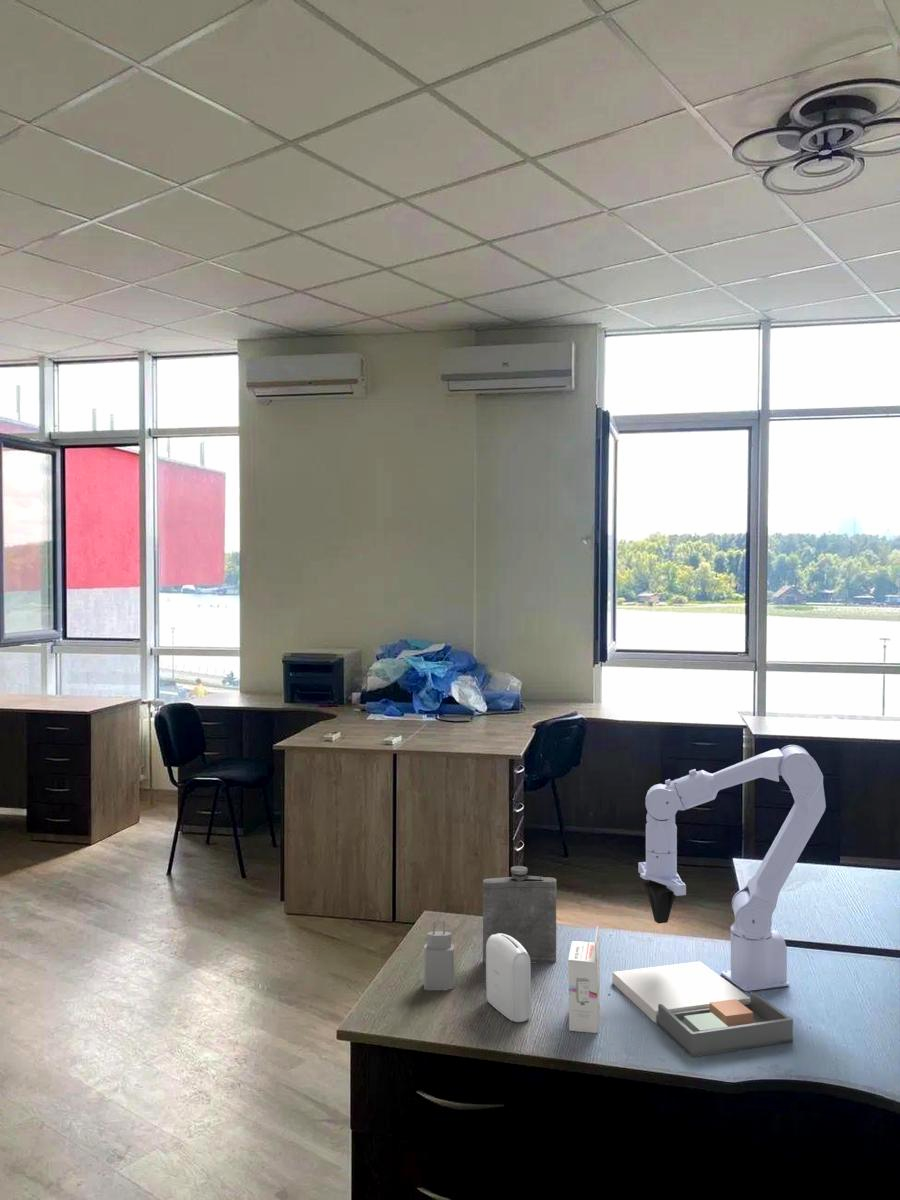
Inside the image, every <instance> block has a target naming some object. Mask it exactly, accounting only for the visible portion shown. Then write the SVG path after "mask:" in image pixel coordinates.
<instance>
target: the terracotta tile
mask: <svg viewBox="0 0 900 1200" xmlns="http://www.w3.org/2000/svg"><path fill="white" fill-rule="evenodd" d="M709 1013H713V1014H714V1015H715V1016H716V1017H717V1018H719V1019H720V1020H721V1021H722V1022H723V1023H725V1024H726V1025H727V1026H728V1027H731V1026H738V1025H745V1024H752V1023H753V1012H752V1011H751V1010H749V1009H748V1008H747V1007H745V1006H744V1005H743V1004H742V1003H740V1002H739V1001H738V1000H737V999H733V1000H725V1001H717V1002H710V1004H709Z"/></svg>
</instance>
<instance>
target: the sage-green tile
mask: <svg viewBox="0 0 900 1200" xmlns="http://www.w3.org/2000/svg"><path fill="white" fill-rule="evenodd" d="M684 1024H685V1025H686V1026H687V1027H688V1028H689V1029H690V1030H692V1031H693V1032H697V1031H704V1030H710V1029H717V1028H724V1027H728V1026H727V1025H726V1024H725V1023H723V1022H722V1021H721V1020H720V1019H719V1018H717V1017H716V1016H715V1015H714V1014H713V1013H703V1014H695V1015H688V1016H684Z"/></svg>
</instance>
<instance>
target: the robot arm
mask: <svg viewBox="0 0 900 1200" xmlns="http://www.w3.org/2000/svg"><path fill="white" fill-rule="evenodd" d="M779 776H781V777H782V779H783V780H784V781H785V783H786V784H787V786H788V787H789V791H790V792H791V795H792V797H793V800H794V802H793V805H792V807H791V808H790V811H789V812H788V815H786V818H785V820H784V822H783V823H782V825H781V827H780V829H779V831H778V833H777V835H775V837H774V840H773V841H772V844H771V846H770V847H769V848H768V851H767V852H766V854H765V856H764V858H763V859H762V861H761V863H760V865H759V867H758V869H757V870H756V872H755V874H754V876H752V877H751V878H750V879H748V881H747V883H746V885H745V886H743V888H741V889H740V890H738V891H737V892H735V894H734V895H733V897H732V900H731V908H732V910H733V913H734V922H733V923H732V924H731V926H730V969H728V970H721V971H720V975H722V976H723V978H724V977H725V978H726V979H727V980H728V981H730V983H733V984H734V985H735V986H737V988H738V987H739V989H741V990H742V991H744V992H753V991H758V990H760V991H761V990H765V989H766V990H767V989H773V988H781V987H787V986H790V984H791V983H790V982H789V981H788V972H787V971H788V951H787V950H788V949H787V944H786V940H785V938H784V937H783V934H781V932H780V931H778V930H776V929H771V928H772V925H773V922H772V920H773V919H772V918H773V914H774V912H775V910H776V907H777V904H778V898H779V895H780V892H781V890H782V889H783V887H784V885H785V883H786V881H787V880H788V878H789V876H790V874H791V872H792V870H793V868H794V867H795V865H796V864H797V862H798V859H799V858H800V856H801V854H802V852H803V851H804V850H805V847H806V846H807V843H808V842H809V840H810V838H811V837H812V835H813V834H814V831H815V829H816V827H817V826H818V824H819V822H820V820H821V818H822V817H823V815H824V813H825V811H826V808H827V805H826V804H827V803H826V796H825V788H824V775H823V773H822V771H821V768H820V767H819V765H818V763H817V761H816V760H815V759H814V758H813V757H812V756H811V755H810V753H809V752H808V751H807V750H806V749H805V748H804V747H803V746H800V745H796V744H788V745H785V746H784V747H782V748H780V749H779V748H774V749H770V750H768V751H765V752H762V753H759V754H757V755H754V756H752V757H748V758H747V759H745V760H742V761H740V762H737V763H735V764H732V765H729V766H728V767H725V768H723V769H720V770H718V771H716V772H713V773H710V772H708V771H706V770H704V769H701V770H698V771H697V770H696V768H694V769H690V770H689V771H688V774H687V775H684V776H681V777H680V778H675V779H674V780H671V779H670V778H669V779H665V781H664V784H663V783H658V784H654V785H653V786H651V787H650V788H649V789H648V790H647V793H646V796H645V803H644V804H645V808H646V811H647V813H646V817H645V819H646V820H645V821H646V823H645V861H641V862H638V863H637V864H638V865H637V866H638V871H637V872H638V874H639V877H640V878H641V879H643V880H646V881H644V882H643V883H642V886H643V889H644V890H645V892H646V895H647V897H648V900H649V903H650V907H651V911H652V916H653V920H654V922H656V923H657V924H666V923H668V922H669V919H670V914H671V910H672V907H673V905H674V902H675V900H676V898H677V897H678V896H679V897H681V896H686V895H687V884H685V882H683V881H682V879H681V877H680V875H679V874H678V872H677V871H678V869H677V867H678V862H677V861H678V860H677V859H678V856H677V855H678V849H677V848H678V847H677V846H678V845H677V844H678V837H677V835H678V834H677V833H678V826H677V824H676V814H677V812H678V811H686V810H689V809H692V808H694V807H697V806H699V805H703V804H705V803H708V802H711V801H714V800H715V799H716V798H717V795H718V792H719V791H721V790H724V789H728V788H731V787H734V786H737V785H740V784H744V783H747V782H750V781H753V780H756V779H760V778H763V779H765V780H766V779H767V780H770V781H774V782H778V783H779V782H780V777H779ZM647 880H648V881H647Z"/></svg>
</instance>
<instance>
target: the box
mask: <svg viewBox="0 0 900 1200" xmlns="http://www.w3.org/2000/svg"><path fill="white" fill-rule="evenodd" d="M749 992H750V996H749V997H750V1002H746V1003H742V1004H743V1005H744V1006H745V1007H747V1008H748V1009H749V1010H751V1011H752V1012H753V1023H752V1024H745V1025H738V1026H731V1027H724V1028H717V1029H710V1030H704V1031H697V1032H693V1031H692V1030H690V1029H689V1028H688V1027H687V1026H686V1025H685V1024H684V1016H688V1015H695V1014H703V1013H709V1008H703V1009H696V1010H688V1011H681V1012H674V1013H671V1012H670V1011H669V1010H668V1009H667V1008H666V1007H664V1006H663V1005H662V1004H658V1015H656V1023H655V1025H657V1026H658V1027H659V1028H660V1029H661V1030H662V1031H663V1032H664V1033H665V1034H666V1035H668V1037H670V1038H671V1039H672V1040H673V1041H674V1042H675V1043H676V1044H677V1045H679V1047H680V1048H682V1050H684V1052H686V1054H687V1055H689V1056H690V1057H691V1058H694V1057H702V1056H708V1055H715V1054H720V1053H721V1054H722V1053H727V1052H734V1051H735V1052H736V1051H741V1050H748V1049H754V1048H759V1047H767V1046H772V1045H780V1044H786V1043H792V1042H794V1041H793V1040H794V1020H793V1018H792V1017H789V1015H787V1014H786V1013H784V1012H783V1011H782V1010H781V1009H779V1008H777V1007H776V1006H774V1005H773V1004H771V1003H770V1002H769V1001H767V1000H766V999H765V998H763V997H762V996H760V995H759V994H758V993H756V992H755V991H749Z"/></svg>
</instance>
